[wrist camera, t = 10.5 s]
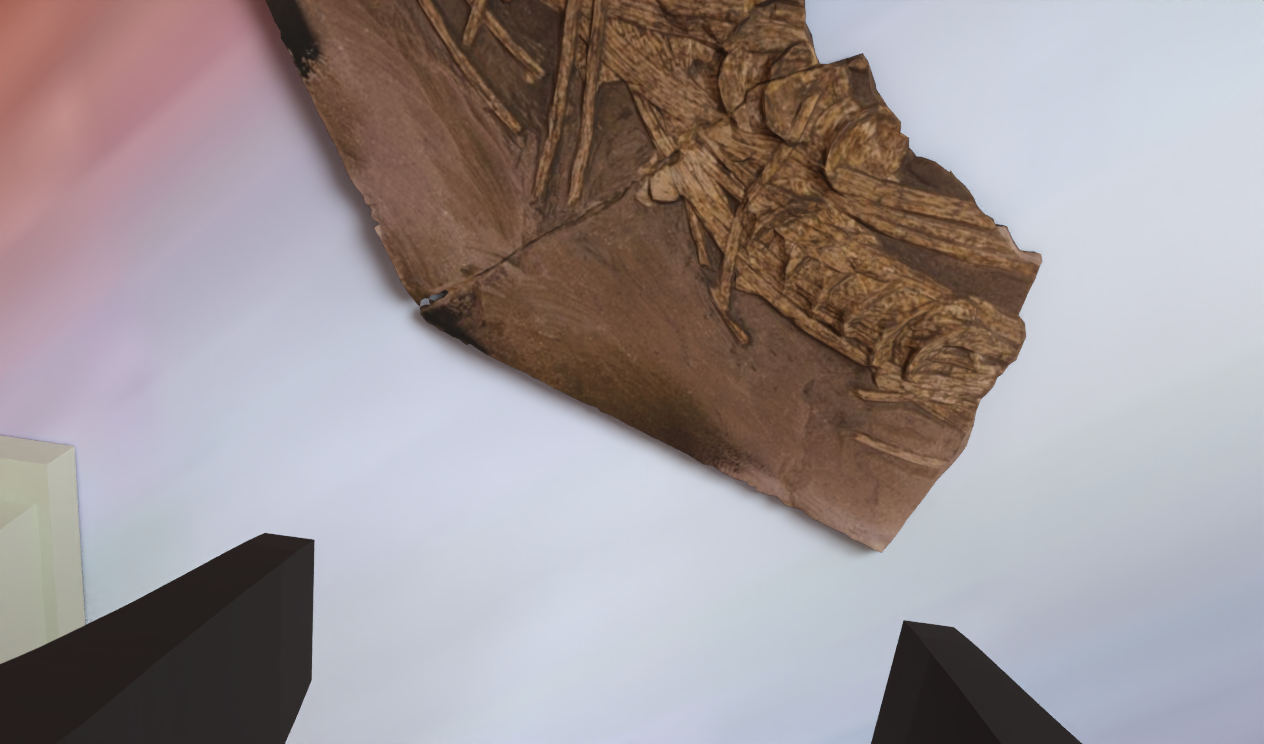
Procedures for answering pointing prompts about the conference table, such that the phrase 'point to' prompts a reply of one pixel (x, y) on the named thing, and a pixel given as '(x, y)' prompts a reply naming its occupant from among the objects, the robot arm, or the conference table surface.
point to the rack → (38, 545)
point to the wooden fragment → (680, 229)
